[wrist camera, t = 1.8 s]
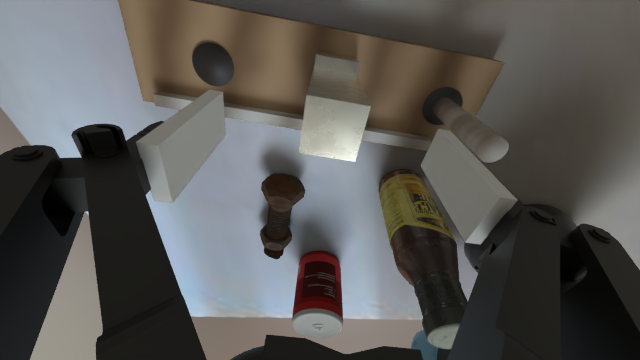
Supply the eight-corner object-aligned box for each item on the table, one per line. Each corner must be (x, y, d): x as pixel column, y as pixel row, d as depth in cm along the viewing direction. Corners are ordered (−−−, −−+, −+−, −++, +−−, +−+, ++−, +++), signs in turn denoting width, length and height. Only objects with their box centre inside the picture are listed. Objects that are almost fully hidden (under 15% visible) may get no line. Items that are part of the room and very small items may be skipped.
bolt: (273, 234, 44) (283, 167, 35) (295, 249, 42) (311, 183, 34) (249, 255, 40) (254, 185, 31) (273, 273, 38) (285, 205, 29)
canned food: (314, 280, 48) (310, 342, 39) (290, 258, 45) (280, 321, 36) (348, 268, 46) (352, 332, 37) (326, 244, 42) (325, 307, 33)
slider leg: (357, 59, 23) (375, 89, 14) (344, 118, 27) (351, 173, 18) (316, 51, 23) (308, 77, 14) (308, 112, 27) (297, 164, 17)
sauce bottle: (431, 184, 34) (523, 342, 18) (395, 208, 37) (446, 364, 21) (402, 156, 32) (478, 309, 16) (366, 184, 35) (399, 339, 18)
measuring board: (493, 59, 25) (598, 91, 15) (448, 145, 31) (504, 209, 21) (130, -13, 23) (-24, -30, 13) (154, 95, 28) (60, 140, 18)
